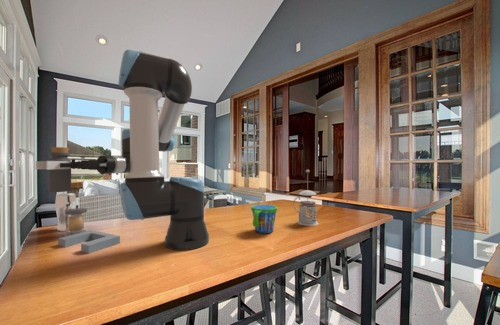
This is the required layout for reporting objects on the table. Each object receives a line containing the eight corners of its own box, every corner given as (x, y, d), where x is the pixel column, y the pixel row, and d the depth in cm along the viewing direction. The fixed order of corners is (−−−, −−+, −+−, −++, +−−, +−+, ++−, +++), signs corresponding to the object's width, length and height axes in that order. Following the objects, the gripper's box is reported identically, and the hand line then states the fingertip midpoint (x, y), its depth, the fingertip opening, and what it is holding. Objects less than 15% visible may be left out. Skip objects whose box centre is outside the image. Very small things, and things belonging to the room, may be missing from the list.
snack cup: (263, 224, 106) (263, 202, 106) (284, 228, 100) (284, 205, 100) (242, 233, 93) (242, 208, 93) (264, 238, 87) (264, 211, 87)
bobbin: (91, 234, 93) (90, 209, 93) (71, 239, 87) (71, 212, 87) (80, 231, 96) (80, 207, 96) (60, 236, 90) (60, 210, 90)
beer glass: (51, 230, 98) (51, 195, 98) (69, 226, 104) (69, 192, 104) (62, 232, 95) (61, 195, 95) (79, 228, 101) (79, 193, 101)
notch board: (119, 242, 83) (119, 235, 83) (88, 253, 73) (88, 245, 73) (90, 236, 90) (90, 230, 90) (58, 245, 80) (58, 238, 80)
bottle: (59, 192, 76) (58, 146, 76) (44, 192, 78) (44, 147, 78) (75, 190, 82) (75, 147, 82) (61, 190, 83) (61, 148, 83)
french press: (321, 225, 104) (321, 170, 104) (295, 225, 104) (295, 170, 104) (315, 220, 114) (315, 169, 114) (291, 220, 114) (291, 169, 114)
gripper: (126, 173, 92) (57, 177, 71) (96, 173, 100) (26, 176, 79) (126, 155, 92) (57, 152, 71) (96, 155, 100) (26, 154, 79)
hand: (41, 165), depth 75 cm, fingers closed on bottle, 6 cm apart
